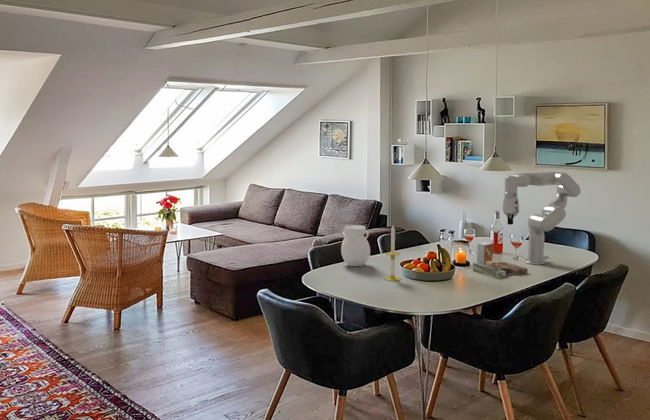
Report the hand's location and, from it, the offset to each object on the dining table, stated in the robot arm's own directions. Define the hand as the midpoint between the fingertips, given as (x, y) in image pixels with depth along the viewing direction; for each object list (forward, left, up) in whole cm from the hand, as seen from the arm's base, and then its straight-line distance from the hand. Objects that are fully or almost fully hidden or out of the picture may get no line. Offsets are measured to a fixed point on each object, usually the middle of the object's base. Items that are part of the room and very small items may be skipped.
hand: (510, 224), depth 405 cm
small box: (+10, -12, -27) cm, 31 cm away
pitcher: (+87, -45, -27) cm, 101 cm away
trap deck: (+17, +11, -27) cm, 33 cm away
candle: (+84, -4, -27) cm, 89 cm away
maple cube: (+24, +11, -24) cm, 35 cm away
